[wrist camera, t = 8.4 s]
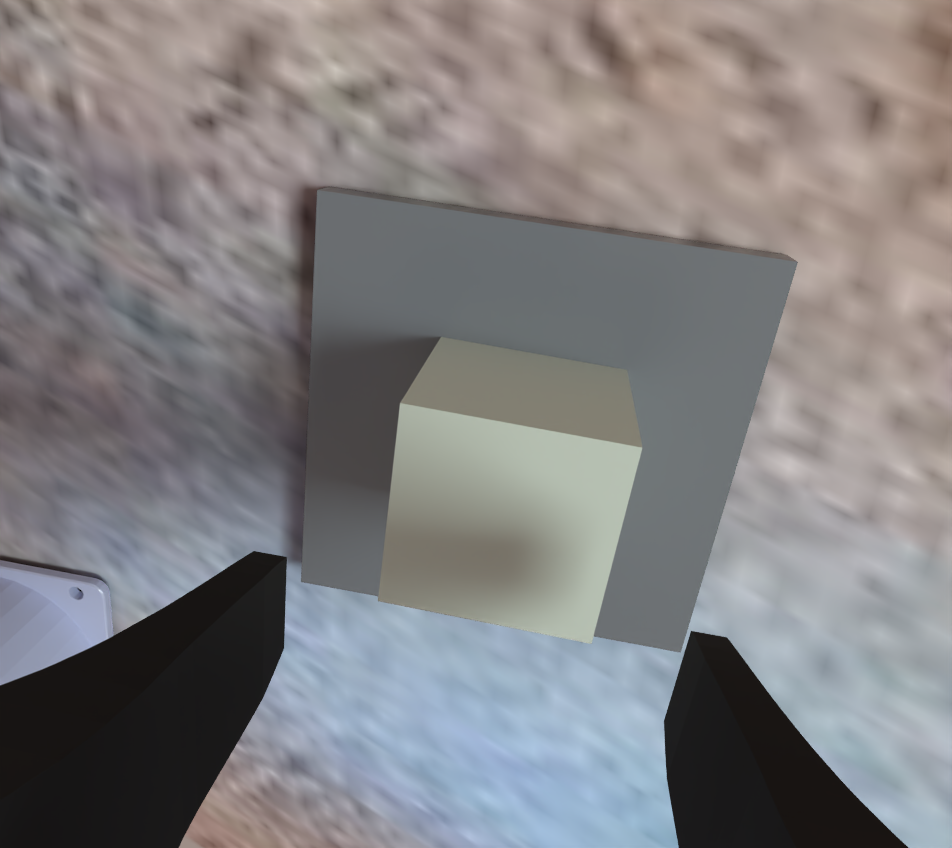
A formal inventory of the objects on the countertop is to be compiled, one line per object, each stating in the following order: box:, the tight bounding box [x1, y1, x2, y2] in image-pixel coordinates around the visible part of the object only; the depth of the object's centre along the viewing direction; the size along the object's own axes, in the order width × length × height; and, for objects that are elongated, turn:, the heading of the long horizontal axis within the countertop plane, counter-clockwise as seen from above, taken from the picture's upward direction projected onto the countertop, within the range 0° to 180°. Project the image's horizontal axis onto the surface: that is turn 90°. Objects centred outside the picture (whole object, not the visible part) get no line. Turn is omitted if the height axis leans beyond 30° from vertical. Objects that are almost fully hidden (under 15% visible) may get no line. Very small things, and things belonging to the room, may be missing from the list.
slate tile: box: [301, 187, 798, 652], centre depth 21 cm, size 12×12×1 cm
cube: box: [378, 337, 642, 644], centre depth 18 cm, size 5×5×5 cm
